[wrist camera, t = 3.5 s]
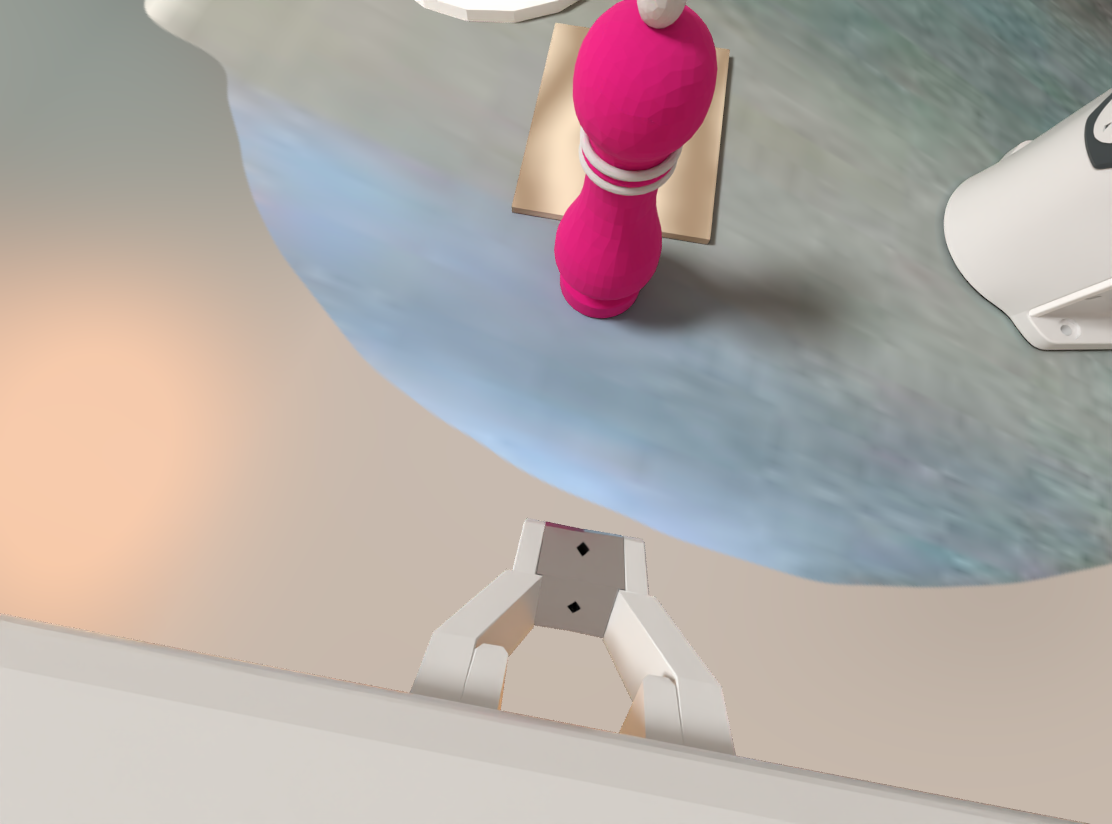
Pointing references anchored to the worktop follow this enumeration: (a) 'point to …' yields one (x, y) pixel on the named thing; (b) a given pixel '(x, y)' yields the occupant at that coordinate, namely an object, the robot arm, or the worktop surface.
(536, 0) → the dish
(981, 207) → the robot arm
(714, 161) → the wooden board
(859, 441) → the worktop surface
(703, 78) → the pepper mill
